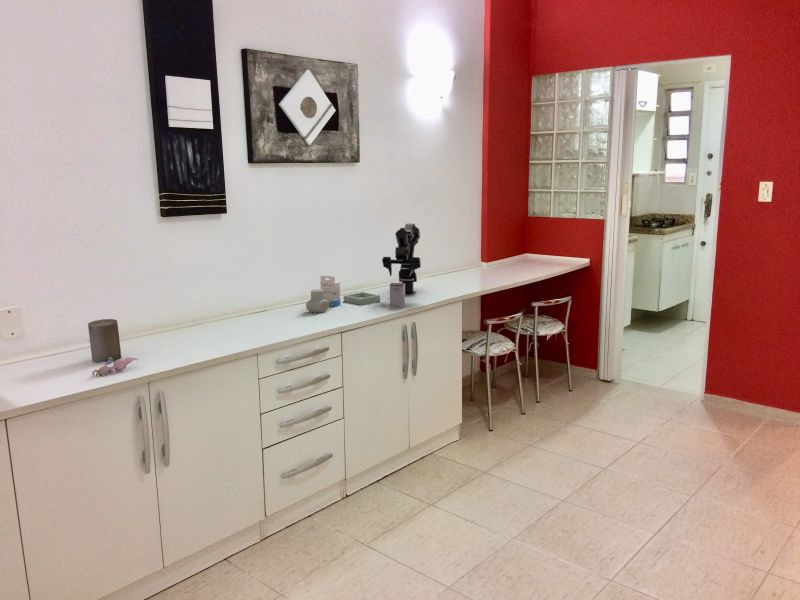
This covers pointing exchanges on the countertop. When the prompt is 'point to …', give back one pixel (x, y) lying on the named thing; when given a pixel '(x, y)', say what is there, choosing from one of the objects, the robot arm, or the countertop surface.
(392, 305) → the grey rectangular block
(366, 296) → the tray
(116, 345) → the pillar candle
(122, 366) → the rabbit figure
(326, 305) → the beige rounded blocky piece
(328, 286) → the ink box
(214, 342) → the countertop surface
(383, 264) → the robot arm
